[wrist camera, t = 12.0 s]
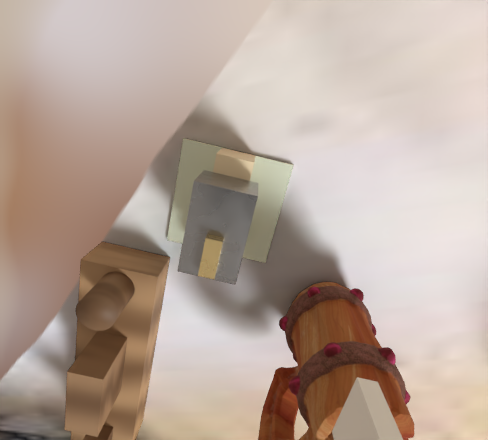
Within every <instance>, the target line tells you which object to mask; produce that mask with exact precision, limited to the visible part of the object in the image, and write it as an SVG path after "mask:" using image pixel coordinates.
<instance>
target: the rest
mask: <svg viewBox="0 0 488 440" xmlns="http://www.w3.org/2000/svg"><path fill="white" fill-rule="evenodd" d="M292 169H293V164H289V163H285V162H281V161H276V160H272V159H268V158H264V157H260V156H256V155H252V154H248V153H244V152H239V151H235V150H231V149H227V148H223V147H219V146H215V145H211V144H207V143H202V142H198V141H194V140H190V139H186V138H183V143H182V149H181V155H180V161H179V168H178V174H177V180H176V186H175V193H174V199H173V205H172V211H171V218H170V224H169V230H168V236H167V240H168V241H173V242H177V243H181V244H183V238H184V233H185V227H186V222H187V216H188V210H189V205H190V199H191V194H192V188H193V183H194V180H195V179H196V178H197V177H198V176H199V175H200V174H201V173H202V172H203V171H204V170H207V171H211V172H215V173H219V174H223V175H227V176H232V177H236V178H240V179H244V180H248V181H252V182H257V183H258V199H257V202H256V206H255V210H254V214H253V218H252V222H251V226H250V230H249V234H248V237H247V241H246V245H245V249H244V253H243V257H242V258H246V259H250V260H254V261H259V262H263V263H266V259H267V256H268V252H269V249H270V245H271V242H272V238H273V235H274V231H275V228H276V224H277V221H278V218H279V214H280V211H281V207H282V204H283V200H284V197H285V193H286V190H287V186H288V183H289V179H290V176H291V172H292Z"/></svg>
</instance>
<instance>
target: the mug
mask: <svg viewBox="0 0 488 440" xmlns="http://www.w3.org/2000/svg"><path fill="white" fill-rule="evenodd" d="M362 300H363V292H362V291H361V290H359V289H352V290H350V289H348V288H346V287H344V286H341V285H339V284H338V283H334V282H321V283H318V284H313V285H311V286H310V287H308V288H306V289H305V290H303V291H302V292H300V293H299V294H298V296H297V297H296V298H295V300H294V301H293V303H292V304H291V306H290V308H289V310H288V312H287V315H286V316H284V317H283V318H281V320H280V321H279V326H280V328H281V329H282V330H283V331H285V334H286V339H287V343H288V346H289V348H290V350H291V352H292V353H293V358H294V360H295V361H296V362H297V363H298V366H296V367H293V368H283V367H281V368H278V369H277V370H276V371H275V374H274V378H273V381H272V383H271V386H270V389H269V392H268V395H267V398H266V401H265V404H264V407H263V411H262V415H261V422H260V430H259V438H258V440H294V424H295V420H296V415H297V411H298V408H299V410H300V413H301V415H302V417H303V418H304V420H305V421H306V423H307V425H308V427H309V428H308V430H307V432H306V433H305V434H304V435H303V436H302V437H301V438H300V439H299V440H334V438H333V434H332V430H333V428H334V426H335V424H336V422H337V419H338V417H339V415H340V413H341V411H342V409H343V406H344V404H345V402H346V400H347V398H348V396H349V393H350V391H351V389H352V387H353V385H354V383H355V380H356V378H357V377H358V378H363V379H367V380H372V381H376V382H378V384H379V386H380V388H381V390H382V393H383V395H384V397H385V399H386V402H387V404H388V406H389V409H390V411H391V413H392V415H393V418H394V420H395V422H396V424H397V427H398V429H399V431H400V434H401V436H402V438H403V440H408V438H412V437H413V436H414V422H413V420H412V418H411V415H410V413H409V411H408V408H407V406H406V404H407V403H408V402H409V400H410V395H409V394H408V392H407V391H406V388H405V384H404V381H403V379H402V376H401V374H400V372H399V371H398V369H397V367H396V365H395V354H394V353H393V351H392V349H390V348H382V347H381V346H380V344H379V343H378V341H377V339H376V338H375V335H376V329H375V327H374V325H373V324H372V322H371V316H370V314H369V311H368V309H367V308H366V307H365V305H364V304H363V302H362Z"/></svg>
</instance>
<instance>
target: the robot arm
mask: <svg viewBox="0 0 488 440" xmlns="http://www.w3.org/2000/svg"><path fill="white" fill-rule="evenodd" d="M332 434H333V438H334V440H403V438H402V436H401V434H400V431H399V429H398V427H397V424H396V422H395V420H394V418H393V415H392V413H391V411H390V409H389V406H388V404H387V402H386V399H385V397H384V395H383V393H382V390H381V388H380V386H379V384H378V382H376V381H372V380H367V379H363V378H358V377H357V378H356V380H355V383H354V385H353V387H352V389H351V391H350V393H349V396H348V398H347V400H346V402H345V404H344V406H343V409H342V411H341V413H340V415H339V417H338V419H337V422H336V424H335V426H334V428H333V430H332Z"/></svg>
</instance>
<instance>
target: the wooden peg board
mask: <svg viewBox="0 0 488 440" xmlns="http://www.w3.org/2000/svg"><path fill="white" fill-rule="evenodd" d="M169 260H170V257H167V256H163V255H158V254H154V253H150V252H145V251H141V250H137V249H132V248H128V247H124V246H119V245H115V244H111V243H106V242H101V243H100V244H99V245H98V246H96V247H95V248H94V249H93V250H92V251H90V252H89V253H88V254H87V255H86V256H85V257H83V258H82V259H81V265H80V283H79V301H78V304H77V306H76V315H77V318H78V319H77V337H76V355H75V362H74V363H73V365H72V366H71V367H70V369H69V370H68V372H67V388H66V410H65V430H67V431H71V440H136V437H137V434H138V432H139V429H140V427H141V424H142V421H143V416H144V410H145V404H146V398H147V392H148V386H149V380H150V374H151V368H152V362H153V356H154V350H155V344H156V338H157V332H158V326H159V320H160V314H161V308H162V302H163V296H164V290H165V284H166V278H167V272H168V266H169Z"/></svg>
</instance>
